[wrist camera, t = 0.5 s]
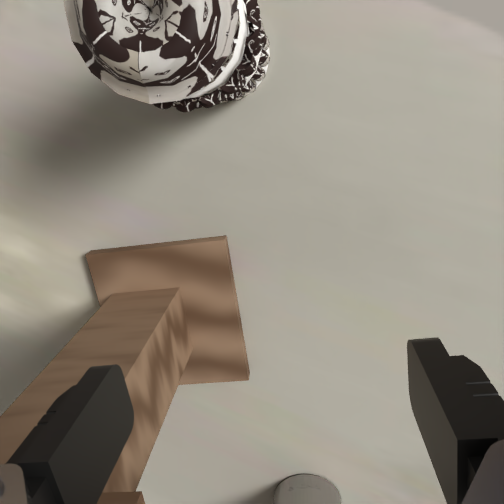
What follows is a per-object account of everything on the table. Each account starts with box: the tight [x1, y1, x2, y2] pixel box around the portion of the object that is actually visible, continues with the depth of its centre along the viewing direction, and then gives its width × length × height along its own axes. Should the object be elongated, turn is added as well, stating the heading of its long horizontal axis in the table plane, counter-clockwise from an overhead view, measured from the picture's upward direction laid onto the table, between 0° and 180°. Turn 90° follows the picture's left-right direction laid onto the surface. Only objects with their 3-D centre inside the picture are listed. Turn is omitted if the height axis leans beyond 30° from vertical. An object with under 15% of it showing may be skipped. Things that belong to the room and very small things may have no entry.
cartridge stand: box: [0, 236, 250, 504], centre depth 36 cm, size 18×16×33 cm
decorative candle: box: [64, 0, 270, 112], centre depth 30 cm, size 9×9×25 cm
